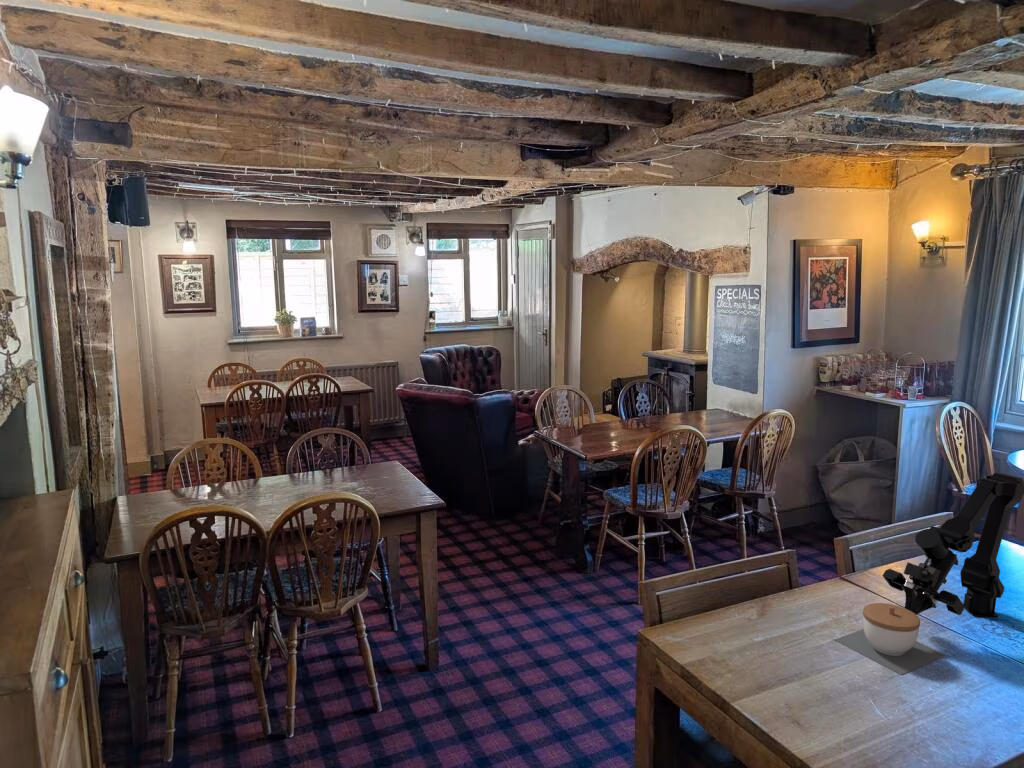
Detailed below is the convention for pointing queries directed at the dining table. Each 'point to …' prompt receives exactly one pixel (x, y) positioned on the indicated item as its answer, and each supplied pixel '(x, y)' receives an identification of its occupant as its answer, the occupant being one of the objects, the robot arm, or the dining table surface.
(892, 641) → the lidded bowl
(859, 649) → the placemat
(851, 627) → the dining table surface
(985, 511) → the robot arm
